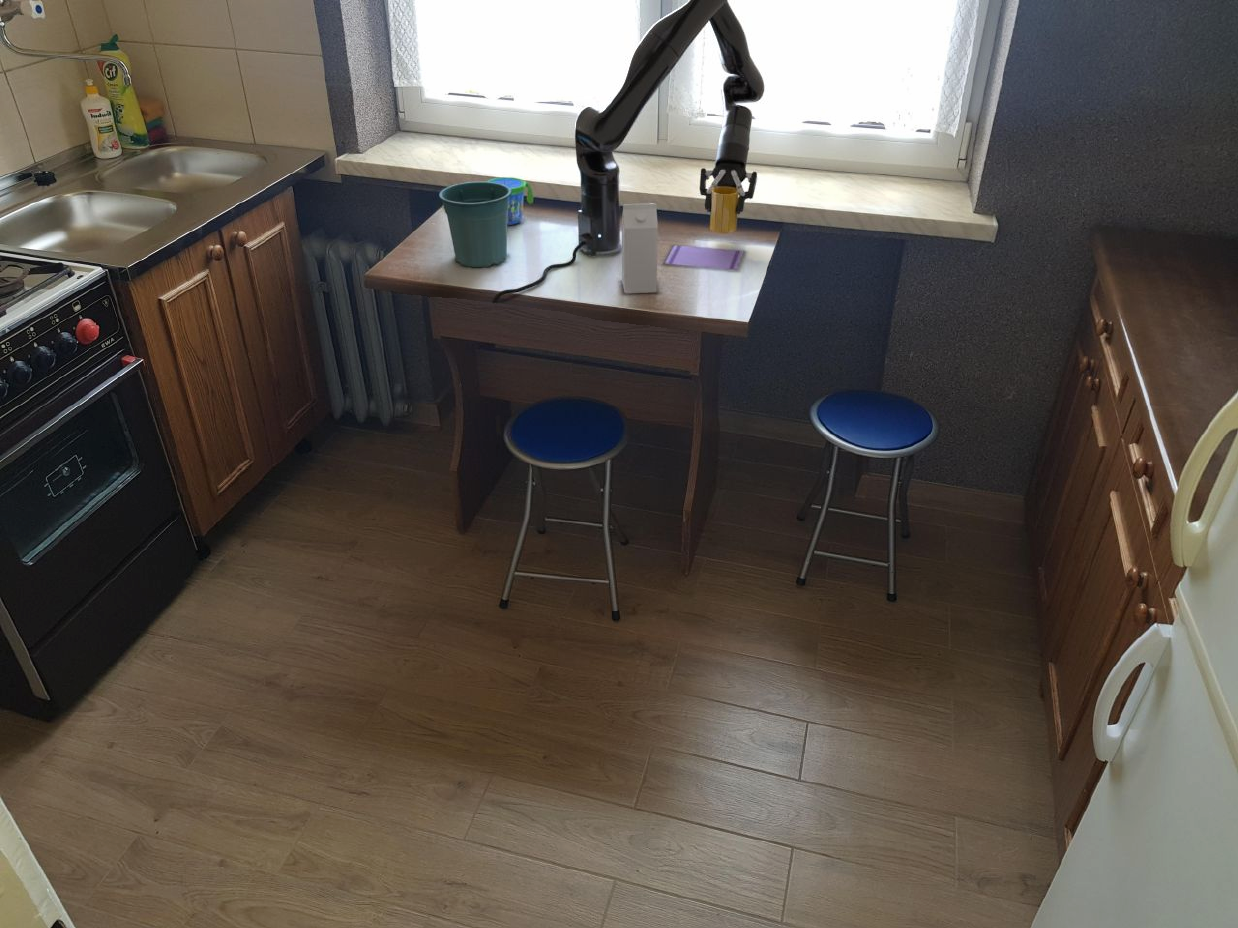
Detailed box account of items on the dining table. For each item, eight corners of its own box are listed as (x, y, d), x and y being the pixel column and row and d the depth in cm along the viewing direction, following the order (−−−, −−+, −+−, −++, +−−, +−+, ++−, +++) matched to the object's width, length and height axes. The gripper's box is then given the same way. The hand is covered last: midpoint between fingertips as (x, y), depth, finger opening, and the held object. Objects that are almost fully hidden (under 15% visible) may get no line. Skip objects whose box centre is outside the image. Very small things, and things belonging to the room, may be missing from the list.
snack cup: (524, 210, 256) (521, 172, 251) (543, 221, 249) (541, 182, 243) (471, 221, 249) (468, 183, 244) (490, 233, 242) (486, 194, 236)
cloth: (664, 264, 225) (664, 263, 224) (674, 246, 234) (674, 245, 234) (736, 271, 221) (736, 269, 221) (743, 252, 231) (743, 251, 231)
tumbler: (720, 235, 231) (722, 196, 225) (704, 227, 235) (706, 189, 230) (741, 230, 234) (743, 191, 228) (725, 222, 238) (727, 184, 233)
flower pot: (432, 259, 228) (424, 192, 219) (484, 240, 238) (479, 176, 229) (476, 277, 219) (470, 208, 210) (529, 257, 229) (525, 191, 220)
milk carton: (621, 281, 216) (621, 199, 206) (652, 280, 217) (654, 198, 206) (624, 294, 211) (624, 210, 200) (656, 293, 211) (658, 209, 200)
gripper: (702, 139, 231) (692, 202, 229) (762, 142, 229) (752, 207, 226) (705, 155, 239) (695, 216, 236) (762, 158, 236) (753, 221, 233)
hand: (723, 211), depth 231 cm, fingers closed on tumbler, 6 cm apart
